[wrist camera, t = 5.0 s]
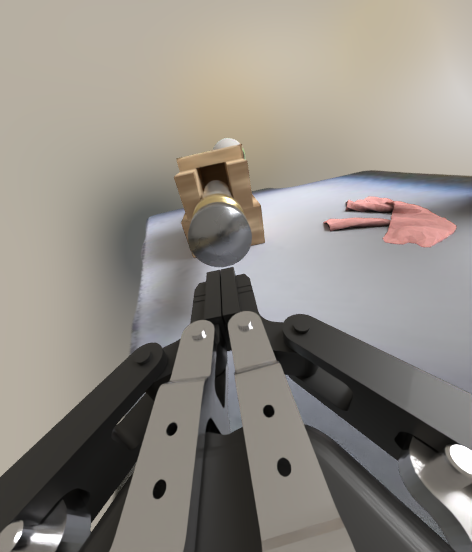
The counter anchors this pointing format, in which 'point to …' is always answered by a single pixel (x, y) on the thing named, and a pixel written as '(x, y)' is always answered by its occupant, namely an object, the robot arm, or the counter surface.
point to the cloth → (398, 222)
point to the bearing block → (224, 168)
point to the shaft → (219, 228)
